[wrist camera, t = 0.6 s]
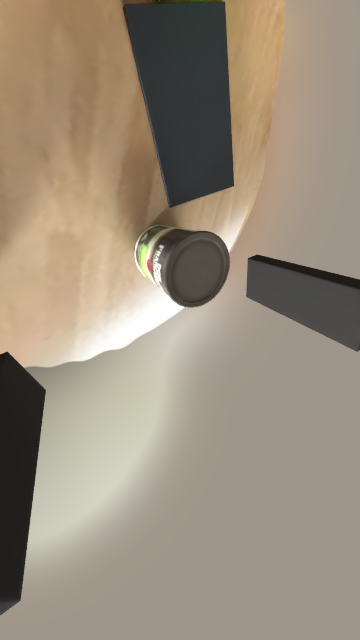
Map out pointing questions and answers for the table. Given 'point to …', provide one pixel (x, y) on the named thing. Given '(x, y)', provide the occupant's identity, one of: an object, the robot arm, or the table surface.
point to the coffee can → (183, 263)
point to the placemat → (185, 93)
